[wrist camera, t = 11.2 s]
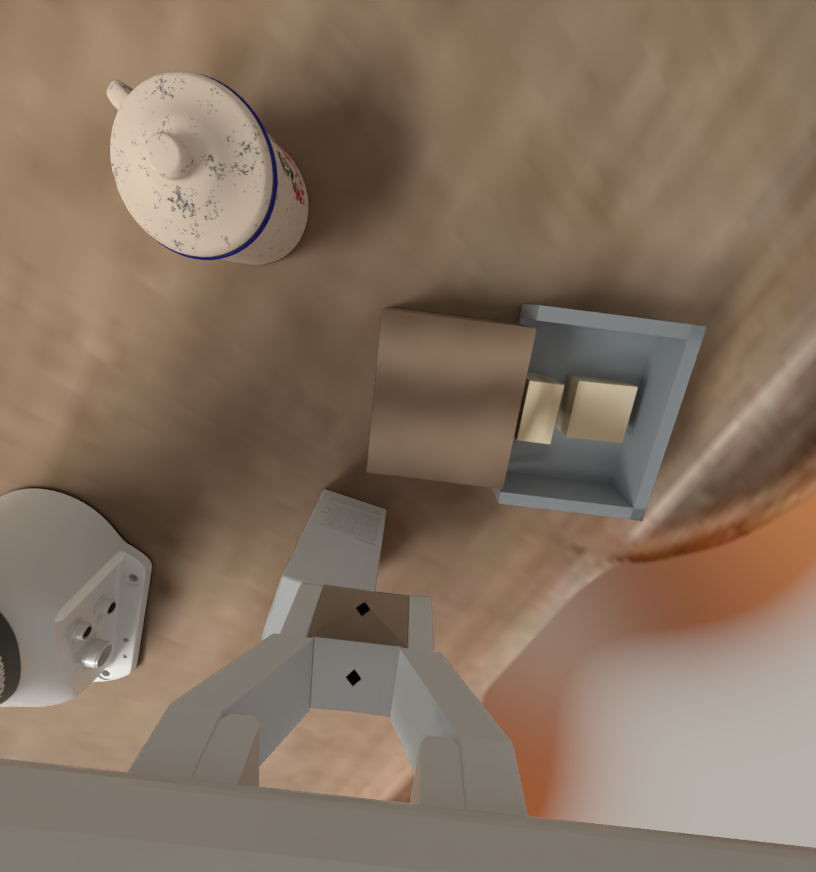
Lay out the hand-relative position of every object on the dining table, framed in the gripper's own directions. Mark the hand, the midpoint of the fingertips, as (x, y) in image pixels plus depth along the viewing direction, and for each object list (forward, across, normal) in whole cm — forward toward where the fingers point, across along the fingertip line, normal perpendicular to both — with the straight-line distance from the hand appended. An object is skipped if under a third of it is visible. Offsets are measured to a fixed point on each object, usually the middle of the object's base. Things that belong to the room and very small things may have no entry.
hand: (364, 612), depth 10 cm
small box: (+27, -4, -15) cm, 31 cm away
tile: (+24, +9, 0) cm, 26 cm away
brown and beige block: (+27, +3, 0) cm, 27 cm away
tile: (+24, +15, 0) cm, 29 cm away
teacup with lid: (+27, -14, +13) cm, 33 cm away
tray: (+27, +14, 0) cm, 31 cm away
